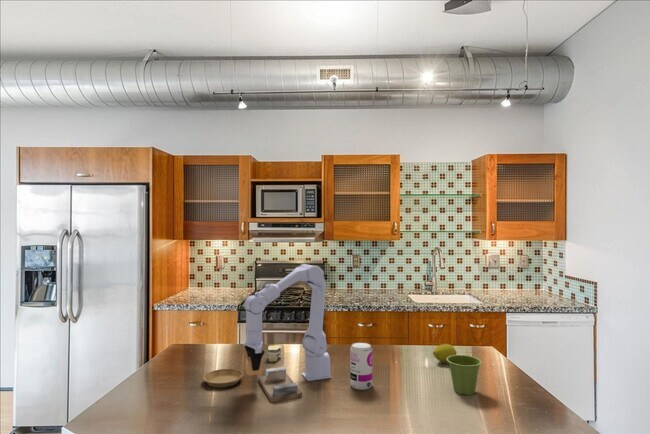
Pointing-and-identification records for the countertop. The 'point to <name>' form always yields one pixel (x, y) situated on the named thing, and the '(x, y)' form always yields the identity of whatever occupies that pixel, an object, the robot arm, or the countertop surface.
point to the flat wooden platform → (280, 389)
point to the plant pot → (464, 373)
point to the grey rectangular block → (275, 374)
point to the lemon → (444, 352)
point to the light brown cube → (249, 367)
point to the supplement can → (361, 366)
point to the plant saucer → (223, 377)
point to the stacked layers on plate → (274, 352)
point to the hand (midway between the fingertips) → (254, 367)
